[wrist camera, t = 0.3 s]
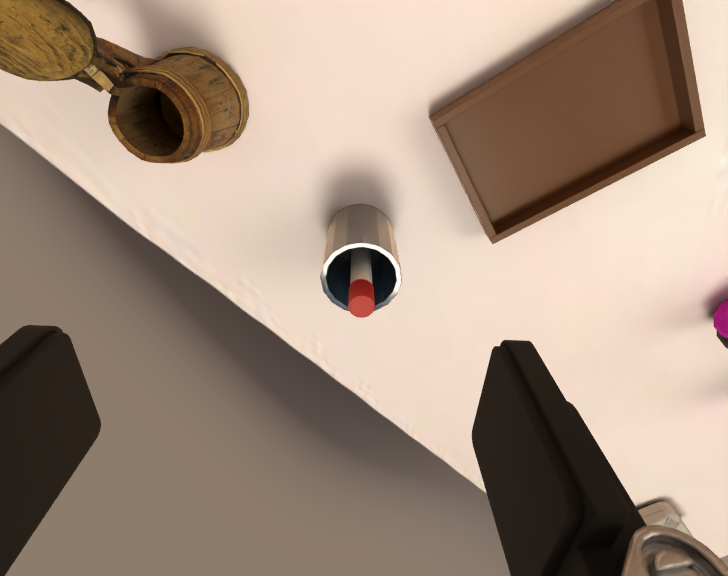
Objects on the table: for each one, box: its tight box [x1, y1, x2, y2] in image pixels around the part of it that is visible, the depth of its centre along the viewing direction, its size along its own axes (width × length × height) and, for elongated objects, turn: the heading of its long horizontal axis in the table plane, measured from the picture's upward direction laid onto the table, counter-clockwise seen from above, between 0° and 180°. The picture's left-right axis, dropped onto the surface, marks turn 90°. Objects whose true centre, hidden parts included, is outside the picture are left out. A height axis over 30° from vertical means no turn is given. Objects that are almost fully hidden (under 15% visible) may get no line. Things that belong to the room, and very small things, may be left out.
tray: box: [429, 0, 706, 244], centre depth 40 cm, size 15×22×3 cm
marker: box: [348, 247, 375, 317], centre depth 41 cm, size 2×2×14 cm
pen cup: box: [320, 204, 402, 311], centre depth 43 cm, size 7×7×10 cm
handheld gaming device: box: [638, 501, 693, 537], centre depth 76 cm, size 9×15×4 cm, turn 129°
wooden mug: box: [0, 0, 249, 164], centre depth 31 cm, size 9×14×18 cm, turn 34°
